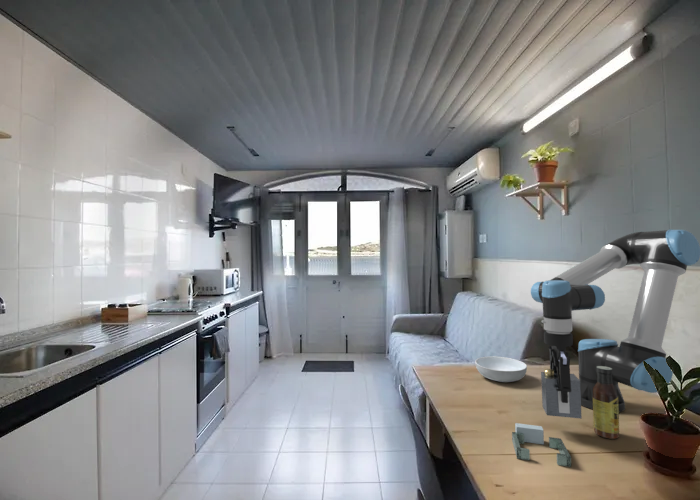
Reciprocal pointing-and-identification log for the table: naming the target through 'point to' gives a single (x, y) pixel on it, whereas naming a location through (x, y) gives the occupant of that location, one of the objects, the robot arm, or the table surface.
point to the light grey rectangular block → (531, 433)
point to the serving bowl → (501, 368)
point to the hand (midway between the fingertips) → (561, 407)
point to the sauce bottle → (605, 405)
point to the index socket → (556, 443)
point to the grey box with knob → (551, 395)
